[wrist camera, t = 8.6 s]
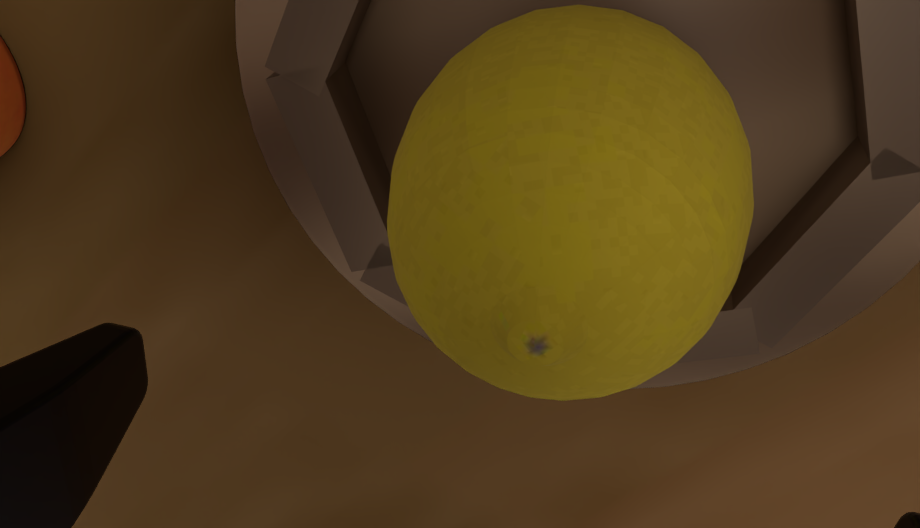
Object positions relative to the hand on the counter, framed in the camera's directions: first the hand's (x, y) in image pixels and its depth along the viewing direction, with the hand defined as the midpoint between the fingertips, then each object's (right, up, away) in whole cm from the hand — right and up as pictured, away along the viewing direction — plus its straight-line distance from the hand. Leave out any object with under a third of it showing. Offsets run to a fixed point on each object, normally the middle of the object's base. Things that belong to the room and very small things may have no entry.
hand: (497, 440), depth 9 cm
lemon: (+2, +5, +7) cm, 9 cm away
